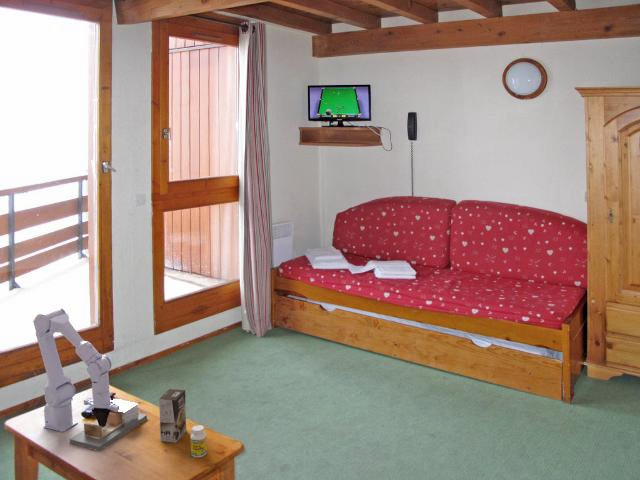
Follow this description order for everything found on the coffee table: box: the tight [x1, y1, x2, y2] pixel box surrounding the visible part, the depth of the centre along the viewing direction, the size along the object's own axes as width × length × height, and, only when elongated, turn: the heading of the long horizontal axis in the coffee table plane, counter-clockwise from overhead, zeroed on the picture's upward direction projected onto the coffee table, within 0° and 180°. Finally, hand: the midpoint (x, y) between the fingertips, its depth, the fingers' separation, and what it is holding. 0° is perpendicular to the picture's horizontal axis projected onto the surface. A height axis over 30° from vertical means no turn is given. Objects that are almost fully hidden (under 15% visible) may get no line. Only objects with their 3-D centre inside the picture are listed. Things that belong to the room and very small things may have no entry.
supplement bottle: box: [189, 424, 208, 458], centre depth 221 cm, size 5×5×10 cm
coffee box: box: [158, 388, 187, 443], centre depth 233 cm, size 9×6×16 cm
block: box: [107, 411, 122, 425], centre depth 240 cm, size 4×5×4 cm
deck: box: [69, 412, 148, 452], centre depth 237 cm, size 13×26×2 cm, turn 158°
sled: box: [83, 422, 122, 439], centre depth 236 cm, size 7×16×4 cm, turn 158°
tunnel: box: [111, 398, 139, 427], centre depth 242 cm, size 10×8×6 cm
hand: (102, 426), depth 234 cm, fingers closed
